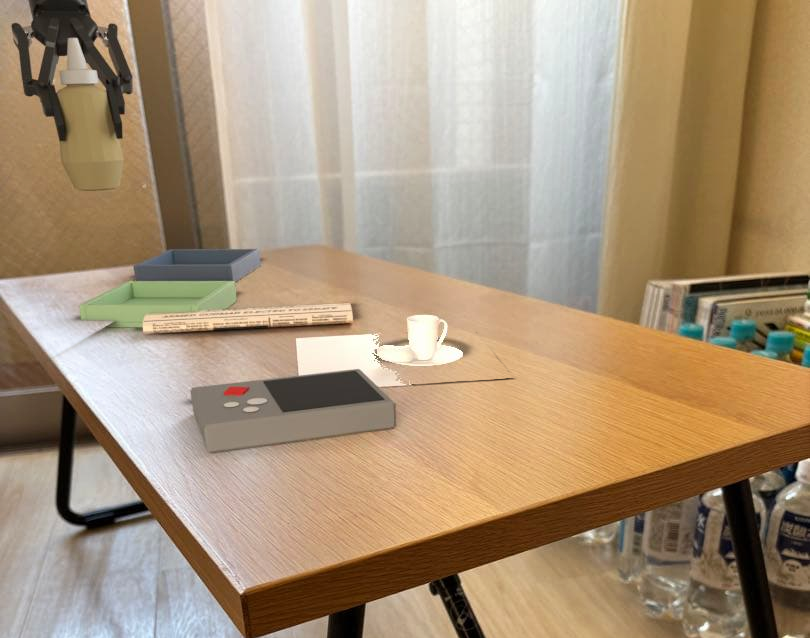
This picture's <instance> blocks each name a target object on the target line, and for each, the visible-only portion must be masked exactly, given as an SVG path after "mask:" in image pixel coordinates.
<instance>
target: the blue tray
mask: <svg viewBox="0 0 810 638" xmlns="http://www.w3.org/2000/svg"><path fill="white" fill-rule="evenodd" d="M260 253H261V252H260V249H259V248H192V249H191V248H181V249H180V248H176V249H173V248H172V249H171V248H170V249H167V250H165V251H163V252H161V253H159V254H157V255H154V256H152V257H150V258H148V259H145V260H143V261H141V262H138V263H136V264H134V265H133V266H132V267H133V273H134V279H135V280H134V281H235V284H236V283H237V282H238V281H240V280H242V279H243V278H245V277H247V276H248V275H250V274H251V273H252V272H254V271H255V270H256V269H258V268H260V267H262V266H261V265H262V263H261V255H260Z"/></svg>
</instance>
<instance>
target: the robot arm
mask: <svg viewBox="0 0 810 638" xmlns="http://www.w3.org/2000/svg"><path fill="white" fill-rule="evenodd" d="M27 1H28V5H29V6H28V7H29V10H30V14H31V18H32V20H31V23H30V25H27V26H22V25H21V24H20V23H18V22H13V23H11V33H12V39H13V43H14V46H15V47H16V49H17V50H18V54H19V55H18V56H19V64H20V65H19V66H20V72H21V73H20V74H21V82H22V88H23V93H24V95H25V96H26V97H33V96H36V97H38V98H39V101H40V103H41V107H42V111H43V115H44V116H45V117H46V118H52V117H53V120H54V124H55V128H56V132H57V133H56V134H57V136H58V140H59V141H58V142H60V141H66V140H65V130H64V123H63V119H62V115H61V111H60V107H59V103H58V99H57V94H56V93H57V91H56V87H55V86H56V85H55V84H53V82H54V79H55V75H56V68H57V65H58V64H59V60H60V57H67V48H68V38H78V41H79V44H80V47H81V50H82V52H83V55H84V58H85V61H86V63H87V65H88V66H89V67H90V69H91V70H96V71H97V75H98V81H100V82H101V84H102V85H103V87H104V88H105V91H106V92H107V93H108V98H109V103H110V108H111V114H112V119H113V124H114V130H115V134H116V138H117V139H119V140H120V139H121V140H122V139H123V137H124V136H123V121H122V118H121V116H123V115H125V114H126V102H125V98H124V94H126V95H132V94H133V92H134V91H133V89H134V87H133V86H134V85H133V75H132V71H131V70H130V69H131V68H130V66H129V64H128V61H127V59H126V57H125V54H124V52H123V49H122V47H121V44H120V41H119V32H118V31H119V30H118V28H119V27H118V24H116V23H113V22H112V23H109V24H108V25H107V27H104V26H100V25H98V24H97V23H96V21H95V20H94V19H93V18H92V15H91V12H90V8H89V4H88V1H87V0H27ZM98 38H99V39H101V40H100V41H101V42H102V44H103V45H104V48H107V49H108V55H109V58H110V61H111V62H112V66H113V68H114V70H113V69H112V68H111V66H110V65H109V64H108V62H107V60H106V59H105V58H104V57H103V55H102V54H101V52H100V51H99V49H98V48H97V46H96V45H95V42H96V40H97V39H98ZM33 39H35V40H36V41H38V42H39V43H40V44H41V45H43V46H44V50H43V55H42V60H41V64H40V69H39V73H38V77H37V79H34V78H33V73H32V62H31V54H30V47H31V45H32V43H33Z"/></svg>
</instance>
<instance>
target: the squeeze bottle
mask: <svg viewBox="0 0 810 638" xmlns="http://www.w3.org/2000/svg"><path fill="white" fill-rule="evenodd" d="M88 66H89V65H88V63H86V61H85V58H84V55H83V52H82V50H81V47H80V44H79V41H78V38H68V48H67V56H66V69H62V70H58V73H59V79H60V85H63V86H64V87H62V88H60V89H58V91H56V94H57V99H58V103H59V107H60V111H61V115H62V119H63V123H64V130H65V140H66V141H59V153H60V162H61V165H62V166H63V168H64V170H65V173H66V174H67V176H68V178H69V180H70V182H71V184H72V187H73V188H74V189H75V190H78V191H83V192H98V191H100V192H101V191H111V190H115V189H117V188H120V186H121V181H122V174H123V168H124V161H125V158H124V153H123V150H122V146H121V141H120V139H117V138H116V134H115V130H114V124H113V119H112V114H111V108H110V103H109V98H108V93H107V92H106V89H104V88H101V87H99V86H96V85H98V84H99V78H98V75H97V71H96V70H92V69H91V68H89V67H88ZM65 85H66V86H65Z"/></svg>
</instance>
